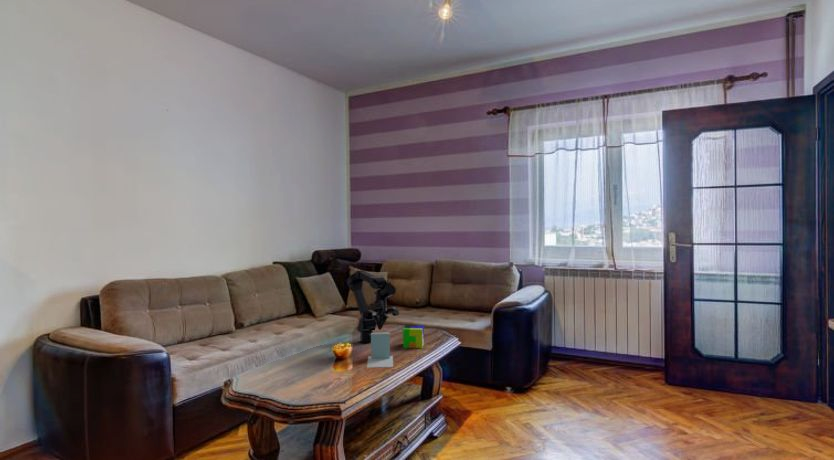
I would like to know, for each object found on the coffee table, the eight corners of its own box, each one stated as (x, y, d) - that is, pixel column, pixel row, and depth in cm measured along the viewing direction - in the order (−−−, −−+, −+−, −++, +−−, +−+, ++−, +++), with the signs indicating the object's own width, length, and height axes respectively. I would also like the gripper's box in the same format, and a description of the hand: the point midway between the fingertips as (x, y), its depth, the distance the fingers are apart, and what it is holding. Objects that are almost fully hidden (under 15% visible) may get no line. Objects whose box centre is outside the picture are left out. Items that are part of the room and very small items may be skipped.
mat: (368, 357, 224) (368, 356, 224) (392, 356, 225) (392, 355, 225) (366, 368, 207) (366, 367, 207) (393, 367, 208) (393, 366, 208)
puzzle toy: (423, 343, 249) (423, 325, 249) (422, 348, 239) (422, 329, 239) (405, 343, 250) (405, 325, 250) (403, 348, 240) (403, 329, 240)
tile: (371, 357, 222) (371, 332, 222) (389, 357, 223) (389, 332, 222) (371, 358, 220) (371, 334, 220) (389, 358, 220) (389, 333, 220)
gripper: (357, 298, 236) (355, 327, 228) (389, 292, 229) (388, 323, 222) (368, 304, 245) (366, 333, 237) (399, 299, 238) (398, 329, 230)
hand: (379, 329), depth 231 cm, fingers closed
